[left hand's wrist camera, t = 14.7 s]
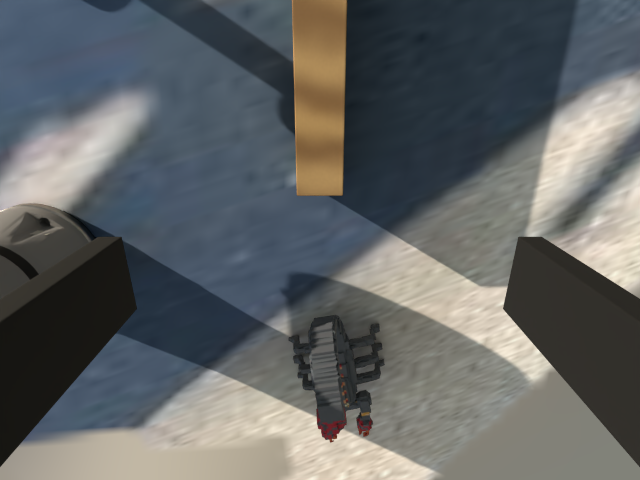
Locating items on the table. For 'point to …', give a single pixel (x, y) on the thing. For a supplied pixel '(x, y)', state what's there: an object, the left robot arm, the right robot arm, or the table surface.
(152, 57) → the table surface
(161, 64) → the table surface
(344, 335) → the toy
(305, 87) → the beam
